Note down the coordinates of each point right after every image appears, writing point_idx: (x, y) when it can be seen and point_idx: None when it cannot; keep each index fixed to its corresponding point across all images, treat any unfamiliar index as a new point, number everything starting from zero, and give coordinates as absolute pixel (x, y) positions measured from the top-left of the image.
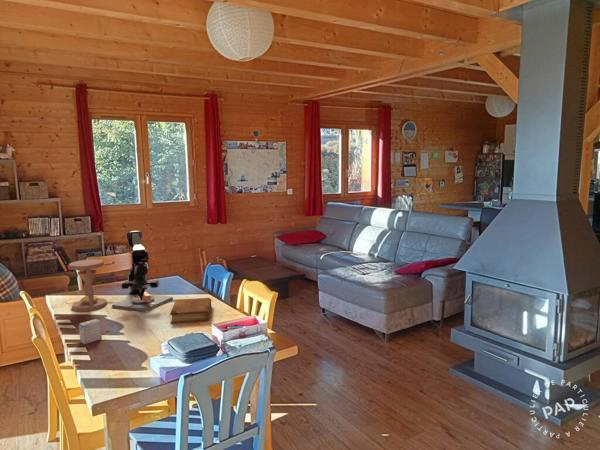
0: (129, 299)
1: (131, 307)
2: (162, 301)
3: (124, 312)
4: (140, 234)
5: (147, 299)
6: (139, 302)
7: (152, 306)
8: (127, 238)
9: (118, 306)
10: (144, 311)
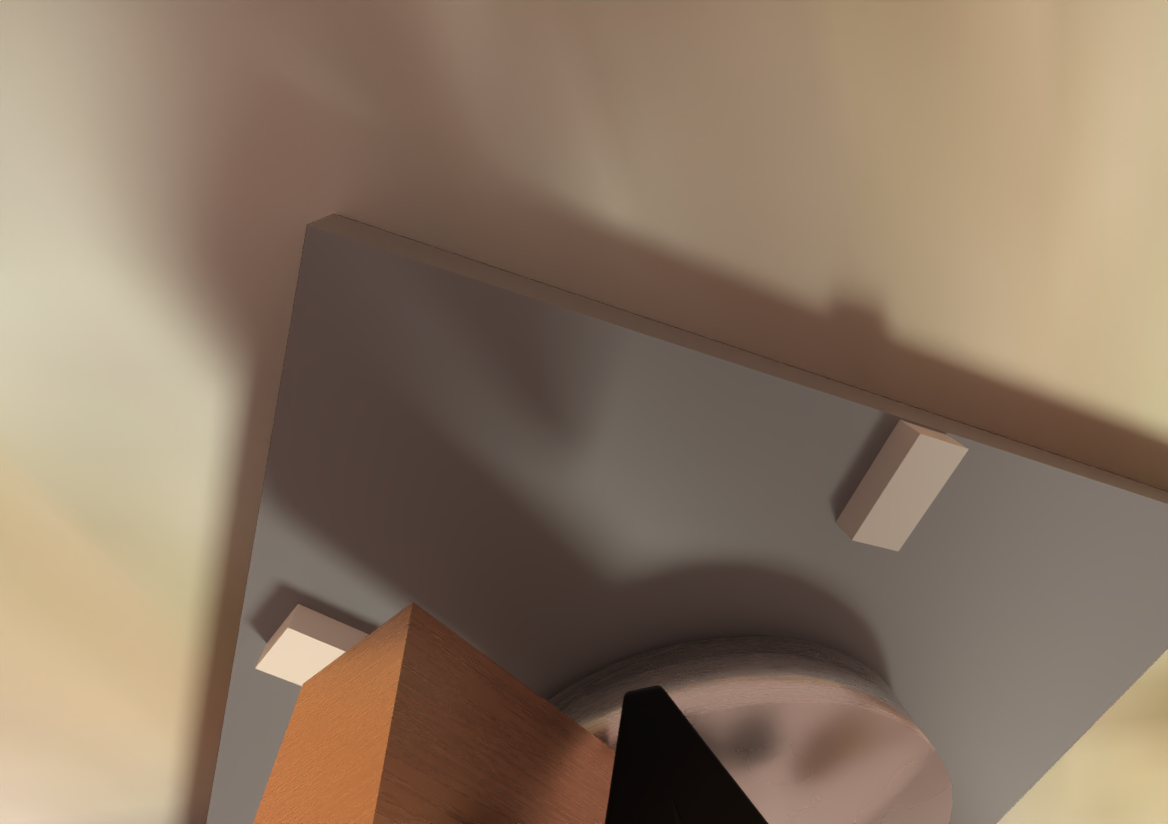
0: (957, 802)
1: (835, 394)
2: (207, 822)
3: (946, 172)
4: None
5: (373, 708)
6: (708, 662)
7: (261, 525)
8: None
9: (1134, 487)
10: (378, 232)
